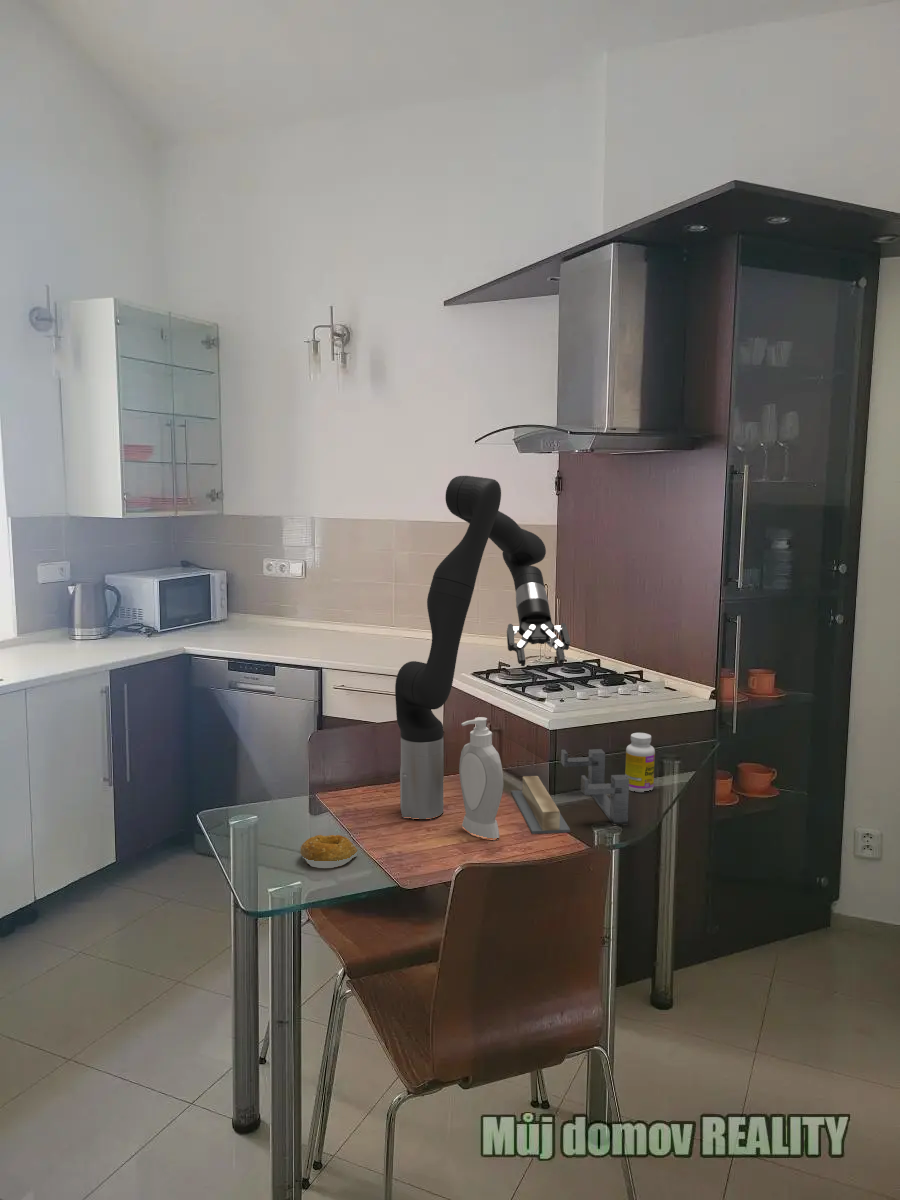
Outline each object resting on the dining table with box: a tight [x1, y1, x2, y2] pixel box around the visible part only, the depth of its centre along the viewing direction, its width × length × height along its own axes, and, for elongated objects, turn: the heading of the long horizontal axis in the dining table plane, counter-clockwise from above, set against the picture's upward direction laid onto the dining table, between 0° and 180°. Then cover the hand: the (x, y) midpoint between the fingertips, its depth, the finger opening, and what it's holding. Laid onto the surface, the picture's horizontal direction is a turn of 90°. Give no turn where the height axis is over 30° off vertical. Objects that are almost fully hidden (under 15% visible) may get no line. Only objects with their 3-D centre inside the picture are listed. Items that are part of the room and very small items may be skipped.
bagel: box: [299, 834, 358, 861], centre depth 176 cm, size 10×11×5 cm
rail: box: [521, 775, 561, 831], centre depth 199 cm, size 4×22×4 cm, turn 6°
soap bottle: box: [458, 716, 504, 839], centre depth 186 cm, size 13×8×24 cm, turn 41°
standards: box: [560, 748, 630, 825], centre depth 202 cm, size 10×21×10 cm, turn 6°
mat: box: [510, 789, 571, 835], centre depth 201 cm, size 8×24×1 cm, turn 6°
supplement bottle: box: [624, 732, 656, 793], centre depth 214 cm, size 7×7×13 cm
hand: (542, 664), depth 207 cm, fingers open, 8 cm apart
